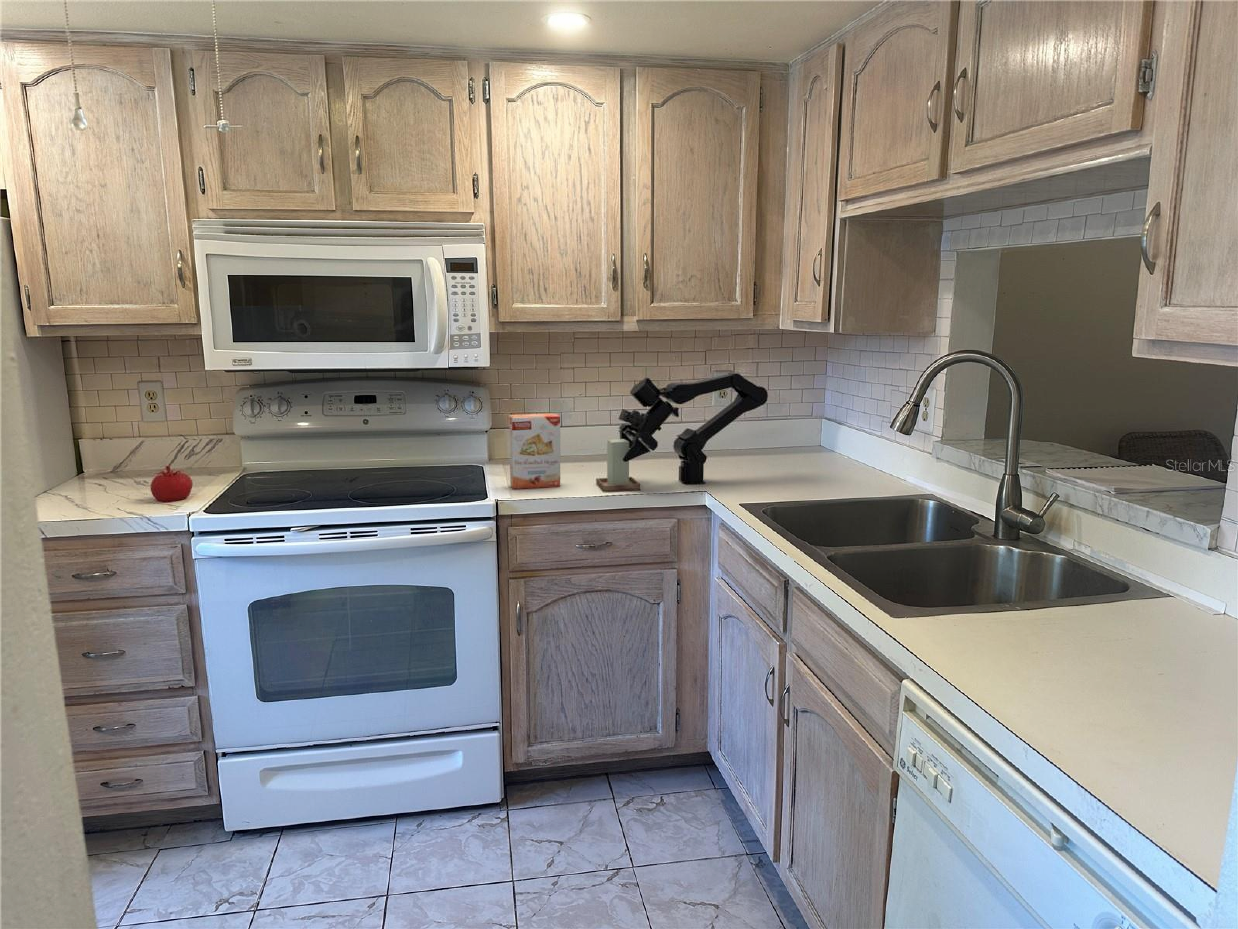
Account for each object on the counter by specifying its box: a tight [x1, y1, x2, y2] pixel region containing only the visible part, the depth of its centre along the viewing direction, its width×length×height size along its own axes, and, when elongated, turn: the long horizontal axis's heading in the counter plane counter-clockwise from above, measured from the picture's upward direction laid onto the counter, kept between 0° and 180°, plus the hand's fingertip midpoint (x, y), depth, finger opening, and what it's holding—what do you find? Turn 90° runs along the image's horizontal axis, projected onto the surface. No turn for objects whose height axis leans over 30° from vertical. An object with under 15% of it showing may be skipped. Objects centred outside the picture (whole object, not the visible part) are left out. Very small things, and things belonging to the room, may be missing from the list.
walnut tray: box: [595, 476, 641, 493], centre depth 237 cm, size 11×11×2 cm
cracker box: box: [508, 413, 561, 490], centre depth 237 cm, size 14×6×21 cm, turn 105°
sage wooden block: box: [606, 438, 630, 485], centre depth 236 cm, size 5×5×13 cm
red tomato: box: [150, 465, 194, 503], centre depth 222 cm, size 10×10×9 cm
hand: (618, 458), depth 236 cm, fingers open, 9 cm apart
